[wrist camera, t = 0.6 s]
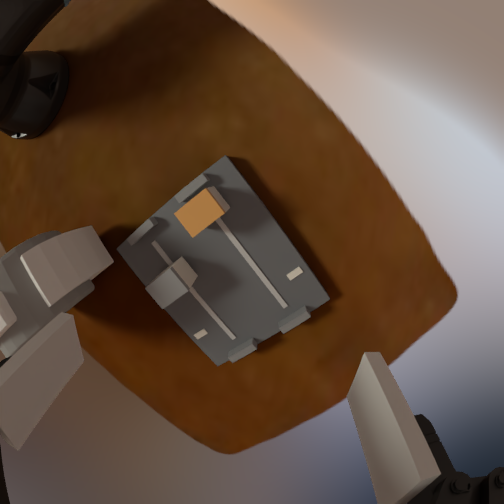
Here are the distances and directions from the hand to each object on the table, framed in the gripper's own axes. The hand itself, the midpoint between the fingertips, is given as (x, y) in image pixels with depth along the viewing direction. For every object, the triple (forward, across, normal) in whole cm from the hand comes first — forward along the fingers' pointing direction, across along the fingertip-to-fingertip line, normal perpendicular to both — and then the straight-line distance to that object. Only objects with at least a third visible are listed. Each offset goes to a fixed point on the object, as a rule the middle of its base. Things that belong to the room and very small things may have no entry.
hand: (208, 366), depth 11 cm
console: (+24, -2, -5) cm, 24 cm away
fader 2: (+22, -4, +3) cm, 22 cm away
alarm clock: (+24, -24, -7) cm, 35 cm away
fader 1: (+21, -7, -5) cm, 23 cm away
